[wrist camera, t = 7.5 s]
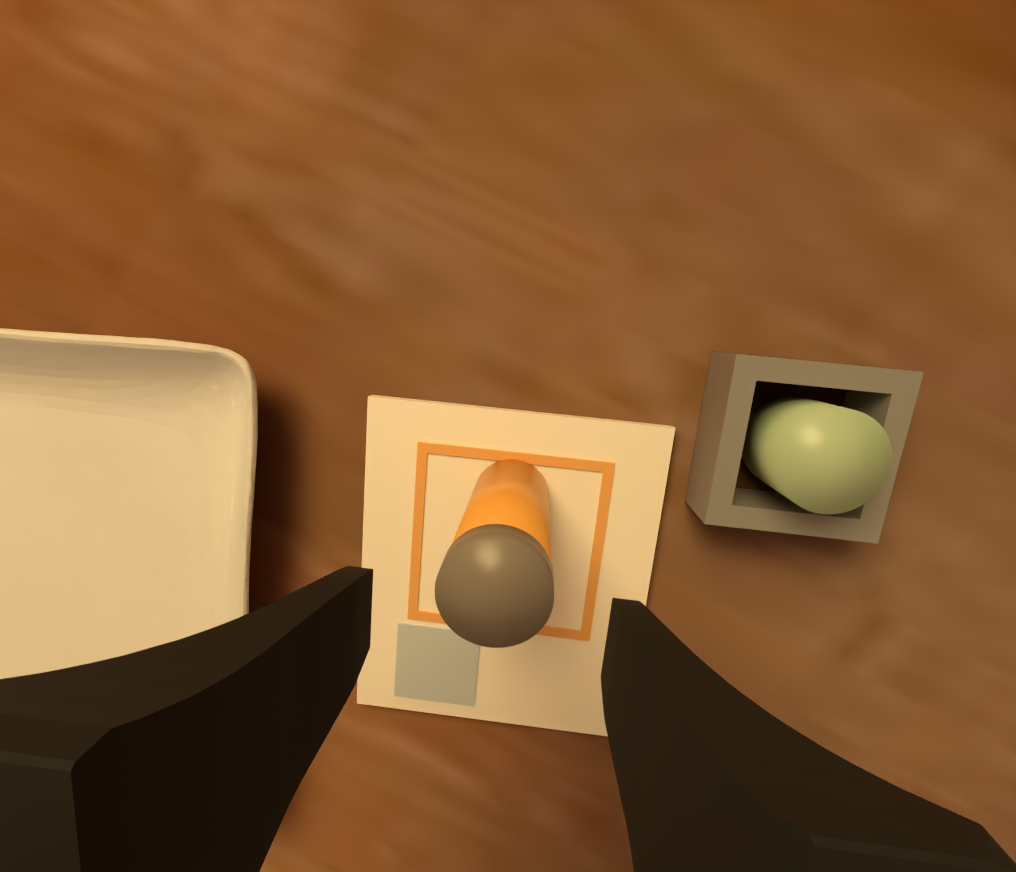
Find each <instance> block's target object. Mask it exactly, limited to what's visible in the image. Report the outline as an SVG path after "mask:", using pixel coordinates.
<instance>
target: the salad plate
mask: <svg viewBox="0 0 1016 872" xmlns="http://www.w3.org/2000/svg"><path fill="white" fill-rule="evenodd" d="M257 441H258V397H257V382H256V378H255V375H254V371H253V370H252V368H251V366H250V364H249V363H248V362H247V360H246V359H245V358H244V357H243V356H241V355H239V354H237V353H235V352H233V351H231V350H229V349H225V348H221V347H217V346H213V345H206V344H199V343H190V342H182V341H174V340H164V339H154V338H132V337H121V336H104V335H86V334H71V333H56V332H42V331H28V330H16V329H3V328H0V679H4V678H11V677H17V676H24V675H31V674H37V673H43V672H48V671H53V670H59V669H64V668H69V667H74V666H78V665H83V664H88V663H93V662H97V661H101V660H106V659H110V658H114V657H119V656H123V655H127V654H130V653H134V652H137V651H141V650H144V649H148V648H151V647H155V646H158V645H162V644H165V643H169V642H172V641H176V640H179V639H182V638H185V637H188V636H191V635H194V634H197V633H200V632H202V631H205V630H208V629H211V628H214V627H216V626H219V625H221V624H224V623H227V622H229V621H232V620H234V619H237V618H239V617H241V616H243V615H246V614H248V613H249V567H250V548H251V528H252V515H253V502H254V488H255V473H256V457H257Z"/></svg>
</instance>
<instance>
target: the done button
mask: <svg viewBox="0 0 1016 872" xmlns="http://www.w3.org/2000/svg"><path fill="white" fill-rule="evenodd" d="M742 457H743V460H744V463H745V465H746V466H747V468H748V469H749V471H750V472H751V473H752V474H753V475H754V476H756V477H757V478H758V479H760V480H761V481H763V482H764V483H766V484H767V485H769V486H770V487H771V488H773V489H774V490H776V491H777V492H779V493H780V494H782V495H783V496H785V497H786V498H788V499H789V500H791V501H792V502H794V503H795V504H797V505H798V506H800V507H802V508H803V509H806V510H808V511H811V512H814V513H819V514H829V515H830V514H839V513H845V512H848V511H851V510H853V509H856V508H858V507H860V506H862V505H863V504H865V503H866V502H868V501H869V500H870V499H872V498H873V497H874V496H875V495H876V494H877V493H878V491H879V490H880V489H881V488H882V486H883V485H884V483H885V482H886V479H887V477H888V475H889V472H890V469H891V465H892V447H891V443H890V440H889V437H888V435H887V433H886V432H885V430H884V428H883V427H882V426H881V425H880V424H879V423H878V422H877V421H876V420H875V419H873V418H872V417H870V416H869V415H867V414H865V413H862V412H859V411H856V410H853V409H848V408H844V407H840V406H836V405H832V404H828V403H824V402H820V401H816V400H812V399H808V398H804V397H797V396H789V397H782V398H778V399H775V400H773V401H770V402H768V403H766V404H765V405H763V406H762V407H761V408H759V409H758V410H757V411H756V412H755V413H754V414H753V415H752V416H751V418H750V419H749V421H748V426H747V431H746V436H745V441H744V446H743V451H742Z"/></svg>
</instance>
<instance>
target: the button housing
mask: <svg viewBox="0 0 1016 872" xmlns="http://www.w3.org/2000/svg"><path fill="white" fill-rule="evenodd" d="M923 373H924V372H918V371H908V370H899V369H889V368H879V367H869V366H859V365H848V364H838V363H828V362H817V361H807V360H797V359H786V358H776V357H766V356H755V355H745V354H735V353H724V352H714V351H711V357H710V362H709V368H708V374H707V379H706V385H705V391H704V396H703V402H702V408H701V413H700V419H699V425H698V430H697V436H696V442H695V447H694V453H693V459H692V464H691V470H690V476H689V481H688V487H687V493H686V498H685V502H686V503H687V504H688V505H689V506H690V507H691V509H692V510H693V511H694V512H695V513H696V514H697V516H698V517H699V518H700V519H701V520H702V522H703V523H704V524H708V525H717V526H726V527H735V528H744V529H752V530H761V531H770V532H779V533H788V534H797V535H806V536H815V537H824V538H833V539H842V540H851V541H860V542H869V543H877V544H878V542H879V538H880V534H881V531H882V527H883V523H884V519H885V516H886V512H887V508H888V504H889V501H890V497H891V493H892V489H893V486H894V482H895V478H896V474H897V470H898V467H899V463H900V459H901V455H902V452H903V448H904V444H905V440H906V437H907V433H908V429H909V425H910V422H911V418H912V414H913V410H914V407H915V403H916V399H917V395H918V392H919V388H920V384H921V380H922V376H923ZM756 381H766V382H776V383H786V384H796V385H806V386H817V387H827V388H837V389H846V392H845V396H844V400H843V405H842V407H844V408H848V409H853V410H856V411H859V412H862V413H865V414H867V415H869V416H870V417H872V418H873V419H875V420H876V421H877V422H878V423H879V424H880V425H881V426H882V427H883V428H884V430H885V432H886V433H887V435H888V437H889V440H890V443H891V447H892V465H891V469H890V472H889V475H888V477H887V479H886V482H885V483H884V485H883V486H882V488H881V489H880V490H879V491H878V493H877V494H876V495H875V496H874V497H873V498H872V499H870V500H869V501H868V502H866V503H865V504H863V505H862V506H860V507H858V508H856V509H853V510H851V511H848V512H845V513H839V514H830V515H829V514H819V513H814V512H811V511H808V510H806V509H803V508H802V507H800V506H798V505H797V504H795V503H794V502H792V501H791V500H789V499H788V498H786V497H785V496H783V495H782V494H780V493H779V492H775V491H765V490H756V489H747V488H738V487H735V486H736V481H737V476H738V471H739V466H740V461H741V456H742V451H743V446H744V441H745V436H746V431H747V426H748V421H749V416H750V410H751V405H752V400H753V395H754V390H755V385H756Z"/></svg>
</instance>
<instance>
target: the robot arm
mask: <svg viewBox="0 0 1016 872" xmlns="http://www.w3.org/2000/svg"><path fill="white" fill-rule="evenodd" d="M372 590H373V569H369V568H360V567H352V566H347V567H344V568H341V569H339V570H337V571H335V572H333V573H331V574H329V575H327V576H325V577H323V578H321V579H319V580H317V581H315V582H313V583H311V584H309V585H307V586H305V587H303V588H301V589H299V590H297V591H295V592H293V593H291V594H289V595H287V596H285V597H283V598H281V599H279V600H277V601H274V602H272V603H270V604H268V605H266V606H263V607H261V608H259V609H257V610H255V611H252V612H250V613H248V614H246V615H243V616H241V617H239V618H237V619H234V620H232V621H229V622H227V623H224V624H221V625H219V626H216V627H214V628H211V629H208V630H205V631H202V632H200V633H197V634H194V635H191V636H188V637H185V638H182V639H179V640H176V641H172V642H169V643H165V644H162V645H158V646H155V647H151V648H148V649H144V650H141V651H137V652H134V653H130V654H127V655H123V656H119V657H114V658H110V659H106V660H101V661H97V662H93V663H88V664H83V665H78V666H74V667H69V668H64V669H59V670H53V671H48V672H43V673H37V674H31V675H24V676H17V677H11V678H4V679H0V872H259V871H260V869H261V867H262V864H263V862H264V860H265V857H266V855H267V853H268V851H269V848H270V846H271V844H272V842H273V839H274V837H275V835H276V833H277V831H278V828H279V826H280V824H281V822H282V819H283V817H284V815H285V813H286V811H287V808H288V806H289V804H290V802H291V800H292V798H293V796H294V794H295V792H296V790H297V788H298V786H299V784H300V782H301V780H302V779H303V777H304V775H305V773H306V772H307V770H308V768H309V766H310V764H311V763H312V761H313V759H314V757H315V756H316V754H317V752H318V750H319V749H320V747H321V745H322V743H323V742H324V740H325V738H326V736H327V735H328V733H329V731H330V729H331V727H332V726H333V724H334V722H335V720H336V719H337V717H338V715H339V713H340V712H341V710H342V708H343V706H344V704H345V703H346V701H347V699H348V697H349V695H350V694H351V692H352V690H353V688H354V686H355V684H356V681H357V679H358V676H359V674H360V672H361V669H362V667H363V664H364V662H365V659H366V657H367V654H368V651H369V649H370V639H371V614H372ZM601 688H602V701H603V711H604V720H605V725H606V730H607V735H608V740H609V745H610V749H611V754H612V759H613V763H614V768H615V773H616V777H617V782H618V787H619V791H620V796H621V800H622V805H623V810H624V814H625V819H626V824H627V829H628V835H629V840H630V846H631V852H632V861H633V869H634V872H1016V863H1015V862H1014V861H1013V860H1012V859H1011V858H1010V857H1009V856H1008V854H1007V853H1006V852H1005V851H1004V850H1003V849H1002V848H1001V847H1000V845H999V844H998V843H997V842H996V841H995V840H994V839H993V838H992V836H991V835H990V834H989V833H988V832H987V831H986V830H985V829H984V828H983V826H981V825H980V824H978V823H976V822H974V821H972V820H970V819H967V818H965V817H963V816H961V815H958V814H956V813H954V812H952V811H950V810H947V809H945V808H943V807H941V806H939V805H936V804H934V803H932V802H930V801H927V800H925V799H923V798H921V797H919V796H916V795H914V794H912V793H910V792H907V791H905V790H903V789H901V788H899V787H897V786H895V785H893V784H891V783H889V782H887V781H885V780H883V779H881V778H879V777H877V776H875V775H873V774H871V773H869V772H867V771H866V770H864V769H862V768H860V767H858V766H856V765H854V764H852V763H850V762H848V761H847V760H845V759H843V758H841V757H839V756H838V755H836V754H834V753H832V752H831V751H829V750H827V749H825V748H824V747H822V746H820V745H819V744H817V743H815V742H814V741H812V740H810V739H809V738H807V737H806V736H804V735H802V734H801V733H799V732H797V731H796V730H794V729H792V728H791V727H789V726H788V725H786V724H785V723H783V722H782V721H780V720H779V719H777V718H776V717H774V716H773V715H771V714H770V713H768V712H767V711H765V710H764V709H763V708H761V707H760V706H759V705H757V704H756V703H754V702H753V701H752V700H750V699H749V698H747V697H746V696H745V695H743V694H742V693H741V692H739V691H738V690H737V689H735V688H734V687H733V686H732V685H730V684H729V683H728V682H727V681H725V680H724V679H723V678H722V677H721V676H719V675H718V674H717V673H716V672H715V671H714V670H712V669H711V668H710V667H709V666H708V665H706V664H705V663H704V662H703V661H702V660H701V659H700V658H699V657H697V656H696V655H695V654H694V653H693V652H692V651H691V650H690V649H689V648H688V647H687V646H686V645H685V644H683V643H682V642H681V641H680V640H679V639H678V638H677V637H676V636H675V635H674V634H673V633H672V632H671V631H670V630H669V629H668V628H667V627H666V626H665V625H664V624H663V623H662V622H661V621H660V620H659V619H658V618H657V617H656V616H655V615H654V614H653V613H652V612H651V611H650V610H649V609H648V608H647V607H646V606H645V605H644V604H643V603H641V602H640V601H637V600H628V599H620V598H612V604H611V610H610V617H609V624H608V630H607V637H606V644H605V650H604V657H603V663H602V670H601Z"/></svg>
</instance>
